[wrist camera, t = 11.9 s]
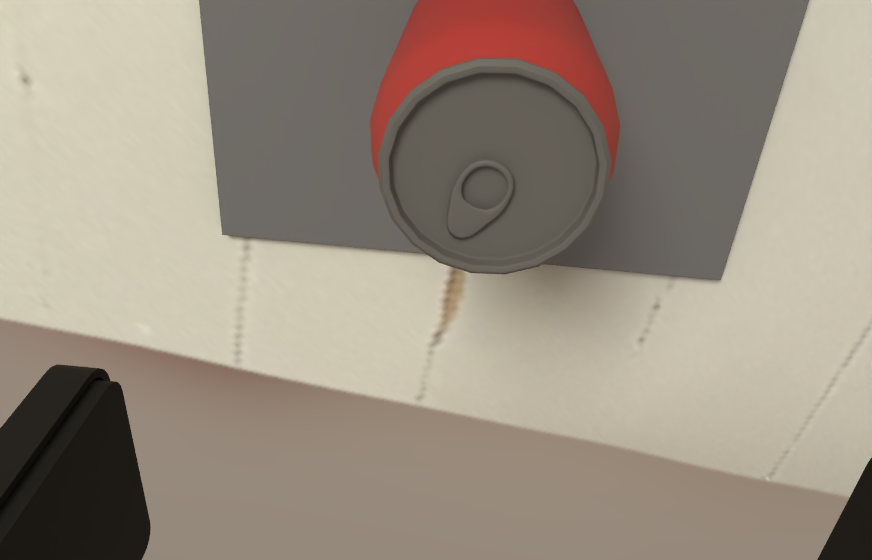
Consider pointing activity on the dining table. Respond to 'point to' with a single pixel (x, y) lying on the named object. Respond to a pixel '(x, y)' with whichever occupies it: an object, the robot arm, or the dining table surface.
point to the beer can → (494, 132)
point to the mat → (626, 70)
